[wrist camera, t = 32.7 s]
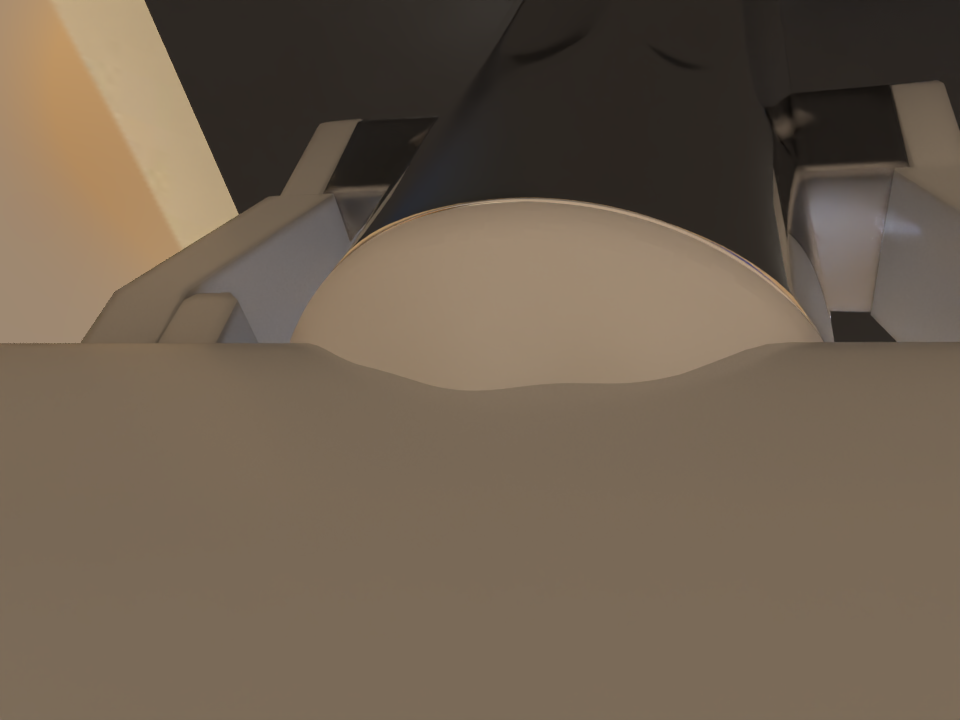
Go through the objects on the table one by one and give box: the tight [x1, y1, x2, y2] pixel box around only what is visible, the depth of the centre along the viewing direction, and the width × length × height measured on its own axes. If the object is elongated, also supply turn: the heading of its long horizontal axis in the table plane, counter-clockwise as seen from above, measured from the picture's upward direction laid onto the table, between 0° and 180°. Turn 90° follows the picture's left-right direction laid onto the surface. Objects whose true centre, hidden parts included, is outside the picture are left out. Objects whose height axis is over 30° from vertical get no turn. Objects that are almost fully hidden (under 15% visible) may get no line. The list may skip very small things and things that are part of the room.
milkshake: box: [290, 0, 836, 391], centre depth 10 cm, size 4×5×10 cm
